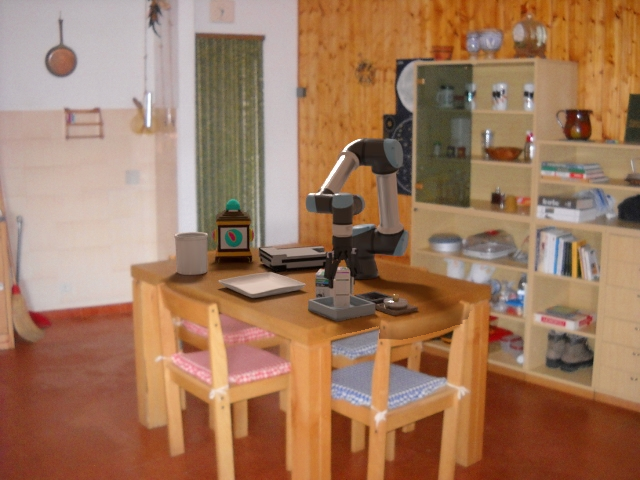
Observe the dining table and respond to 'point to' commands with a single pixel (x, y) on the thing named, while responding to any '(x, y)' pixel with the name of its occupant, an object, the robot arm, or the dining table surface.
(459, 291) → the dining table surface
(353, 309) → the tray
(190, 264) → the utensil holder
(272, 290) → the square plate
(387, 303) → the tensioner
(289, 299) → the dining table surface
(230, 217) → the decorative lantern
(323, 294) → the light bulb box
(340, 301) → the syrup box
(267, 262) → the game console
